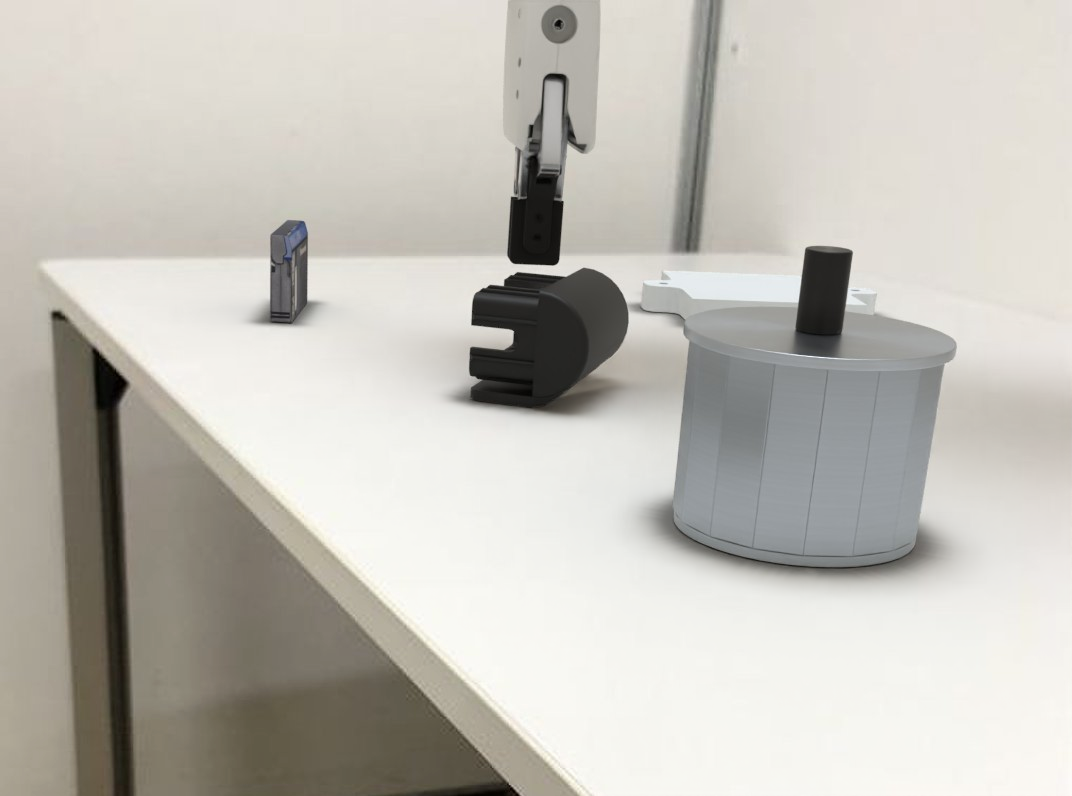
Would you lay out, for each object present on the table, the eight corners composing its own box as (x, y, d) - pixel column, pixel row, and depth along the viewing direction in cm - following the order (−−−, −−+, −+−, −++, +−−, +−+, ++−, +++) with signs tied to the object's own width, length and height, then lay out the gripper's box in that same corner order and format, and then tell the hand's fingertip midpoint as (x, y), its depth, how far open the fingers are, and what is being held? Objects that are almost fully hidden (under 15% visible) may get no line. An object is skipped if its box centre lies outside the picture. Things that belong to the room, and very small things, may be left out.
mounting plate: (847, 301, 132) (850, 277, 131) (896, 332, 120) (900, 306, 119) (628, 293, 131) (630, 269, 130) (656, 323, 119) (658, 297, 118)
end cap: (583, 416, 92) (592, 296, 89) (464, 401, 94) (470, 283, 91) (624, 381, 100) (634, 271, 98) (515, 369, 102) (521, 260, 100)
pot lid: (901, 333, 76) (916, 234, 75) (994, 390, 66) (1014, 275, 64) (659, 326, 76) (668, 225, 74) (713, 382, 65) (726, 266, 63)
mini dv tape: (291, 323, 113) (292, 235, 111) (270, 322, 113) (270, 234, 111) (307, 302, 121) (308, 220, 119) (287, 301, 121) (287, 219, 119)
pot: (871, 496, 79) (897, 322, 76) (950, 570, 69) (984, 373, 66) (653, 491, 78) (670, 315, 75) (700, 565, 68) (722, 365, 65)
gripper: (637, -46, 90) (608, 285, 97) (597, -42, 104) (574, 247, 111) (504, -53, 90) (484, 280, 97) (481, -48, 104) (465, 243, 111)
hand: (532, 262), depth 104 cm, fingers closed
